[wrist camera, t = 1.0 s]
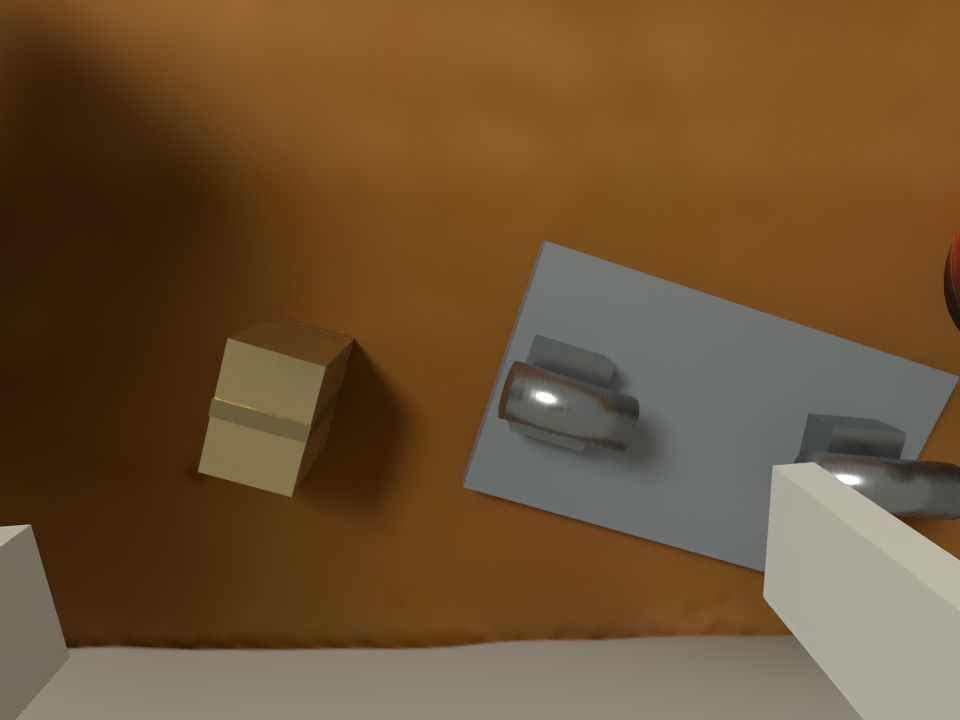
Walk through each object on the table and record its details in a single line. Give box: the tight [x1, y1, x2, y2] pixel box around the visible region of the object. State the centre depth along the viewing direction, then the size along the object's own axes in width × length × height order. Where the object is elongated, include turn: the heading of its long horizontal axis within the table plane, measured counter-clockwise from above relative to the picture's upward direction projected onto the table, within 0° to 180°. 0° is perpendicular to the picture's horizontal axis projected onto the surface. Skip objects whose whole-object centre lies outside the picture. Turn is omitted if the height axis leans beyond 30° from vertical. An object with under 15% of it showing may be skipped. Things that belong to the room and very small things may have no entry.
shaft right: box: [794, 413, 960, 520], centre depth 27 cm, size 7×4×5 cm
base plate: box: [463, 240, 959, 572], centre depth 29 cm, size 22×13×2 cm, turn 72°
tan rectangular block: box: [198, 315, 354, 497], centre depth 26 cm, size 6×4×6 cm
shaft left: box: [498, 334, 639, 453], centre depth 26 cm, size 6×4×5 cm
